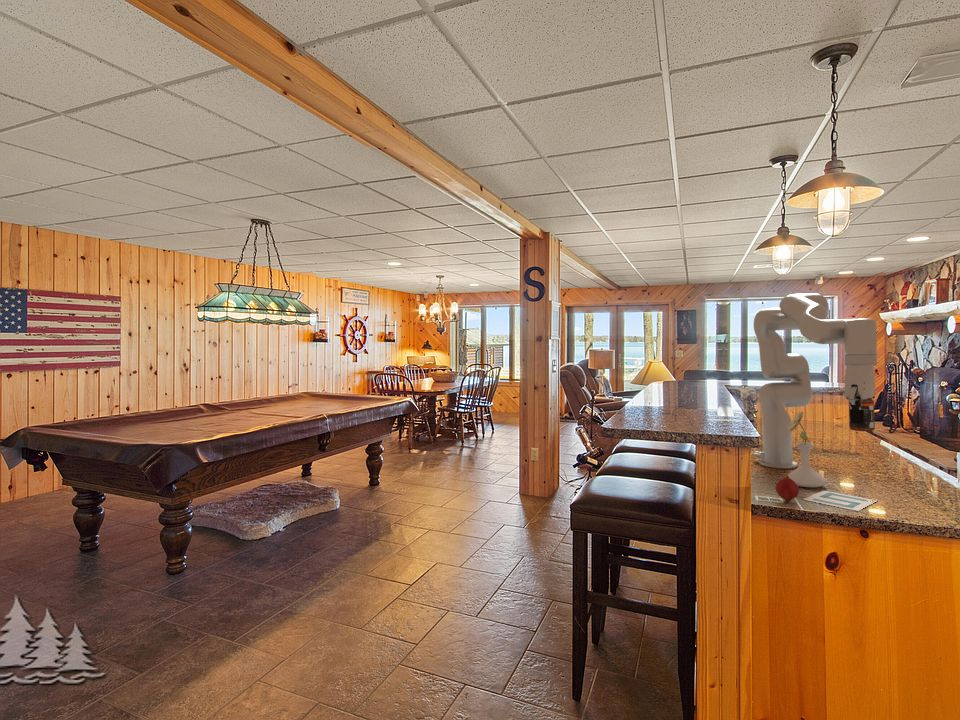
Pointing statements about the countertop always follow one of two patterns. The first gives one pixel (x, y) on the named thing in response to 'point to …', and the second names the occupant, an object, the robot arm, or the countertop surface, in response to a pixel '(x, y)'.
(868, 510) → the countertop surface
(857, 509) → the letter board
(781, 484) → the onion
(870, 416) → the supplement bottle
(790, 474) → the flower in vase
